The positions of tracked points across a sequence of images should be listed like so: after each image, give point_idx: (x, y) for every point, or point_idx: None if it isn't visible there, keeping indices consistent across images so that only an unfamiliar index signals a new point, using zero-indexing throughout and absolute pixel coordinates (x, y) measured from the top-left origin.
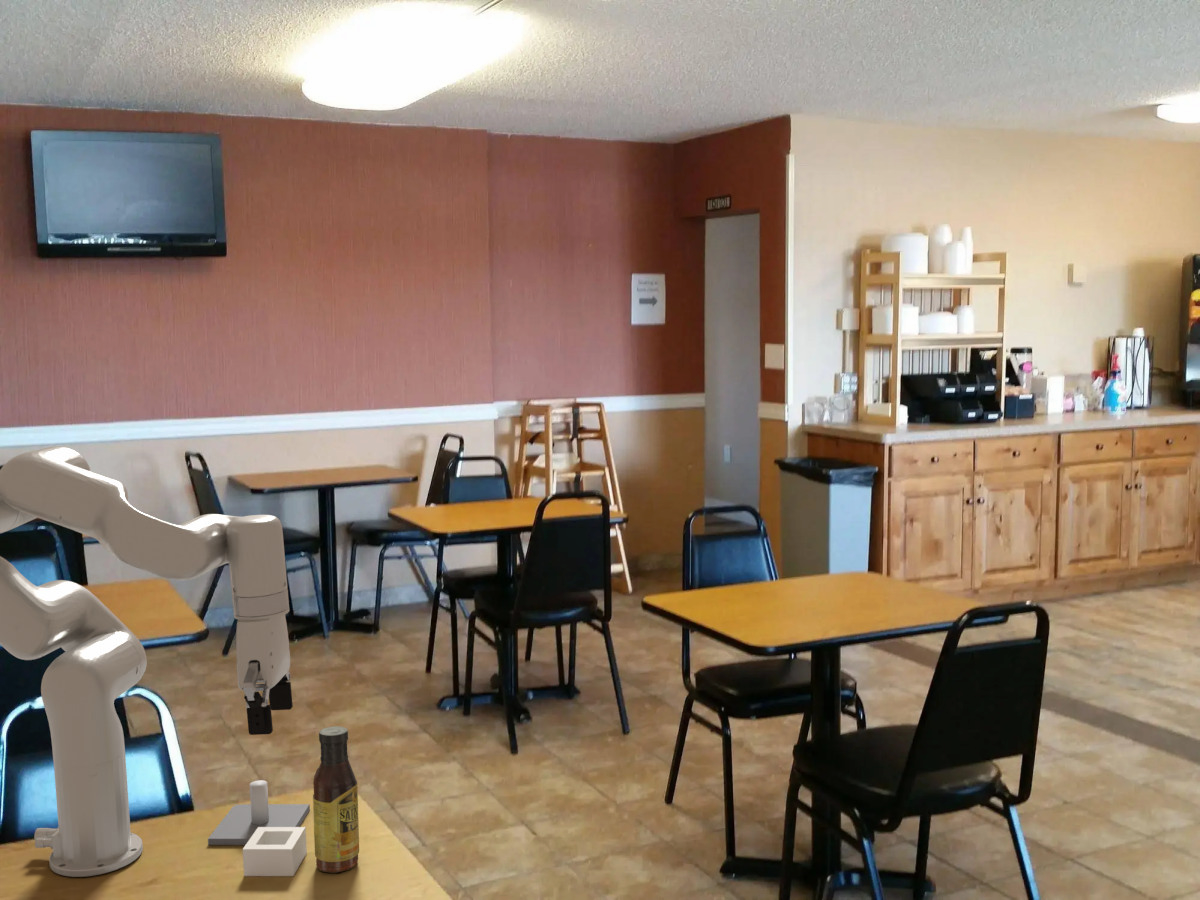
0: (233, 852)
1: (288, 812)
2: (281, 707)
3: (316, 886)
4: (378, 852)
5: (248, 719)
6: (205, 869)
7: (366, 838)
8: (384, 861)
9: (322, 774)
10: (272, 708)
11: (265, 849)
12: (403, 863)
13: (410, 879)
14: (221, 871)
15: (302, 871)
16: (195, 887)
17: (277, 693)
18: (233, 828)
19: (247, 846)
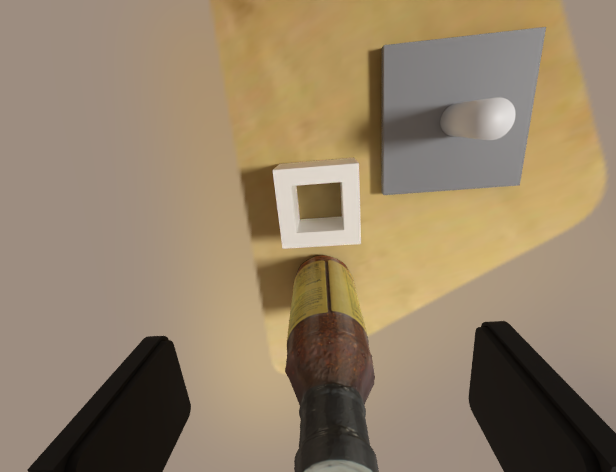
0: (355, 111)
1: (488, 159)
2: (476, 378)
3: (265, 269)
4: None
5: (99, 394)
6: (293, 88)
7: (402, 292)
8: None
9: (296, 375)
10: (480, 336)
11: (277, 208)
12: None
13: None
14: (290, 120)
15: None
16: (236, 100)
17: (528, 439)
18: (426, 79)
19: (282, 174)
